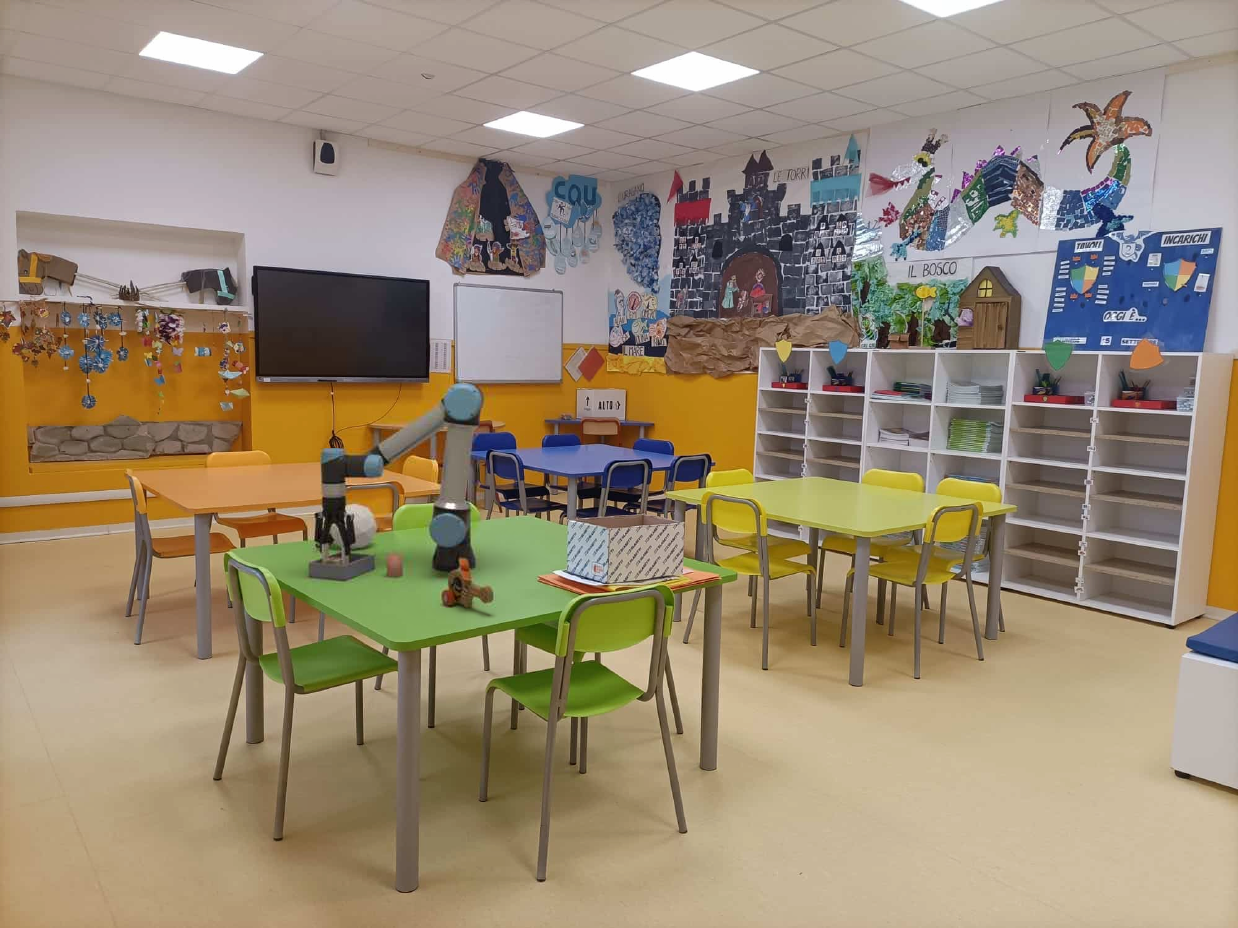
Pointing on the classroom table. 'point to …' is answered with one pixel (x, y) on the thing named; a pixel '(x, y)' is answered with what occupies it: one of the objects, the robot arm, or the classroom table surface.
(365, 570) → the tote
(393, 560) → the red cylinder
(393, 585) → the classroom table surface
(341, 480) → the robot arm
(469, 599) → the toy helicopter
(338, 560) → the wooden cube
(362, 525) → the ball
